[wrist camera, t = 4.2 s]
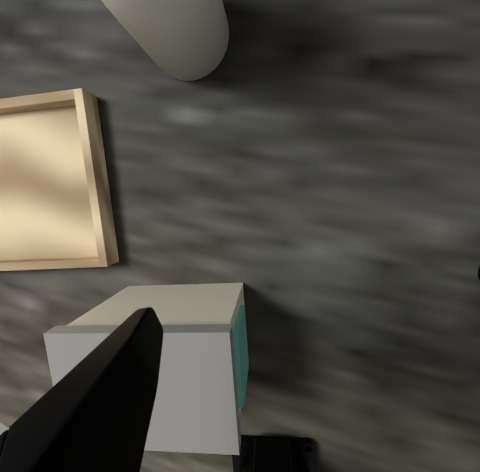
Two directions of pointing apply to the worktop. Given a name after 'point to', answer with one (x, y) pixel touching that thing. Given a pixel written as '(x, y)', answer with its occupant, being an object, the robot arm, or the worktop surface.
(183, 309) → the box
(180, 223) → the worktop surface
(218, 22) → the cartridge
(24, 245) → the refill tray
